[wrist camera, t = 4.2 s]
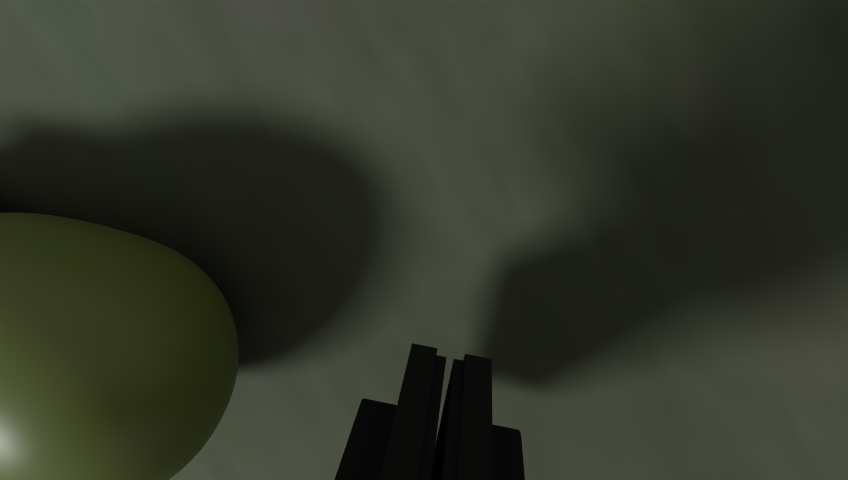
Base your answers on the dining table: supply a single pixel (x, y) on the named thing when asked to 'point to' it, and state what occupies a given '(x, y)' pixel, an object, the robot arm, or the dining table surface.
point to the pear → (106, 353)
